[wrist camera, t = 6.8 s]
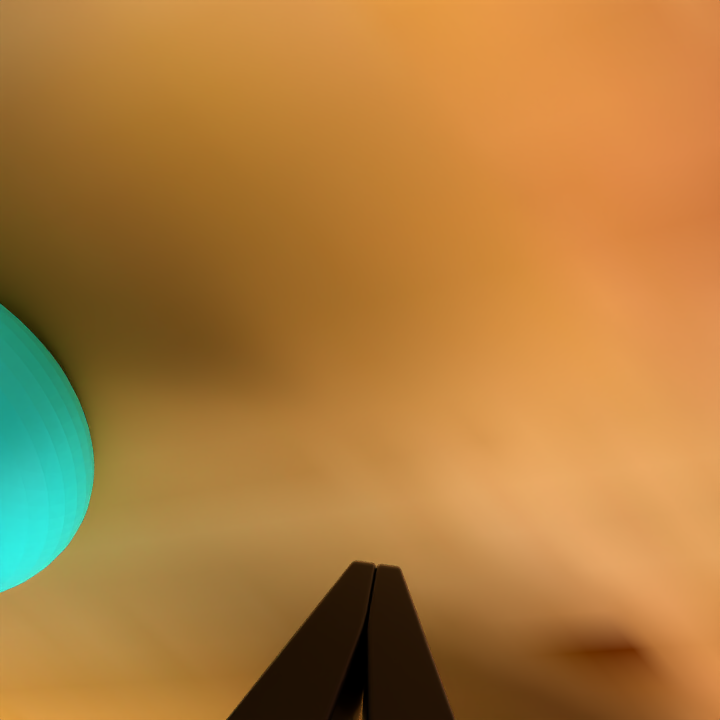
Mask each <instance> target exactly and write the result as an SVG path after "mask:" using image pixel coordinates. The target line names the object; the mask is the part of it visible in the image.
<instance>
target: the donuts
mask: <svg viewBox="0 0 720 720" xmlns="http://www.w3.org/2000/svg"><path fill="white" fill-rule="evenodd" d="M93 481H94V453H93V447H92V441H91V436H90V431H89V427H88V424H87V421H86V418H85V415H84V412H83V409H82V407H81V404H80V401H79V399H78V397H77V395H76V393H75V392H74V390H73V388H72V386H71V384H70V382H69V380H68V378H67V376H66V375H65V373H64V371H63V370H62V368H61V367H60V365H59V364H58V362H57V361H56V360H55V358H54V357H53V356H52V354H51V353H50V352H49V351H48V350H47V348H46V347H45V346H44V345H43V344H42V343H41V341H40V340H39V339H38V338H37V337H36V336H35V335H34V334H33V333H32V332H31V331H30V330H29V329H28V328H27V327H26V326H25V325H24V324H23V323H22V322H21V321H20V320H19V319H18V318H17V317H16V316H15V315H13V314H12V313H11V312H10V311H9V310H8V309H6V308H5V307H4V306H3V305H1V304H0V593H1V592H3V591H6V590H8V589H10V588H13V587H15V586H17V585H19V584H21V583H23V582H25V581H27V580H28V579H30V578H31V577H33V576H34V575H36V574H37V573H39V572H40V571H42V570H43V569H44V568H46V567H47V566H48V565H49V564H50V563H51V562H52V561H53V560H54V559H55V558H56V557H57V556H58V555H59V554H60V553H61V552H62V551H63V550H64V549H65V548H66V547H67V546H68V544H69V543H70V541H71V540H72V538H73V537H74V535H75V534H76V532H77V530H78V529H79V527H80V525H81V523H82V521H83V519H84V517H85V514H86V512H87V509H88V505H89V501H90V497H91V493H92V488H93Z"/></svg>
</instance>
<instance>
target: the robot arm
mask: <svg viewBox="0 0 720 720" xmlns="http://www.w3.org/2000/svg"><path fill="white" fill-rule="evenodd" d="M362 700H363V710H362V720H455V717H454V714H453V711H452V709H451V706H450V703H449V700H448V698H447V695H446V692H445V689H444V686H443V684H442V681H441V678H440V675H439V673H438V670H437V667H436V664H435V662H434V659H433V656H432V653H431V651H430V648H429V645H428V642H427V639H426V637H425V634H424V631H423V628H422V626H421V623H420V620H419V617H418V615H417V612H416V609H415V606H414V603H413V601H412V598H411V595H410V592H409V590H408V587H407V584H406V581H405V579H404V576H403V573H402V571H401V569H400V568H399V567H397V566H391V565H384V564H379V565H378V566H377V568H376V565H375V564H374V563H370V562H363V561H354V562H352V563H351V564H350V565H349V567H348V568H347V569H346V570H345V572H344V573H343V574H342V575H341V577H340V578H339V579H338V580H337V582H336V583H335V584H334V585H333V587H332V588H331V589H330V590H329V592H328V593H327V594H326V595H325V597H324V598H323V599H322V600H321V602H320V603H319V604H318V605H317V607H316V608H315V609H314V610H313V612H312V613H311V614H310V615H309V617H308V618H307V619H306V620H305V622H304V623H303V624H302V626H301V627H300V628H299V629H298V631H297V632H296V633H295V634H294V636H293V637H292V638H291V639H290V641H289V642H288V643H287V644H286V646H285V647H284V648H283V649H282V651H281V652H280V653H279V654H278V656H277V657H276V658H275V659H274V661H273V662H272V663H271V664H270V666H269V667H268V668H267V669H266V671H265V672H264V673H263V674H262V676H261V677H260V678H259V679H258V681H257V682H256V683H255V684H254V686H253V687H252V688H251V689H250V691H249V692H248V693H247V694H246V696H245V697H244V698H243V699H242V701H241V702H240V703H239V704H238V706H237V707H236V708H235V709H234V711H233V712H232V713H231V714H230V716H229V717H228V718H227V719H226V720H359V716H360V711H361V706H362Z"/></svg>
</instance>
